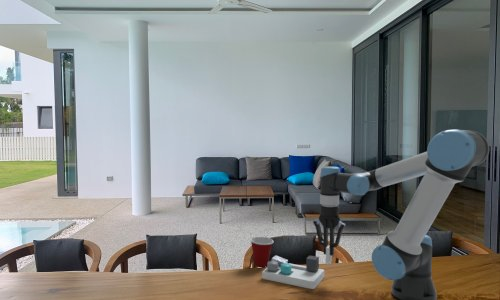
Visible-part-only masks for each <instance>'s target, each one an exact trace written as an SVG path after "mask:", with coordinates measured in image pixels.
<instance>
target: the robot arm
mask: <svg viewBox="0 0 500 300" xmlns="http://www.w3.org/2000/svg"><path fill="white" fill-rule="evenodd" d="M426 149H427V150H426V151H424V152H422V153H419V154H416V155H413V156H409V157H407V158H404V159H402V160H398V161H396V162H392V163H390V164H387V165H385V166H384V165H383V166H381V167H378V168H375V169H372V170H369V171H366V172H357V173H345V172H341V169H340V167H338V166H322V167H321V169H320V177H319V178H320V179H319V180H320V182H319V183H320V192H319V193H320V194H319V204H320V205H319V217H318V218H317V219H315V220H313V225H314V227H315V231H316V235H317V239H318V244H319V245H320V246H322V247H323V255H325V264H327V265H330V264H331V263H332V256H334V254H335V251H334V250H335V248H337V247H338V246H339V245H340V242H341V238H342V234H343V230H344V228H345V227H346V223H344V222H342V221H341V219H340V206H339V205H340V193H344V194H349V195H354V196H364V195H366V193H368V192H370V191H377V190H379V189H382V188H384V187H387V186H391V185H395V184H399V183H401V182H405V181H409V180H413V179H416V178H419V177H422V176H423V177H422V178H421V180H420V183H419V185H418V186H417V188H416V190H415V192H414V194H413V196H412V198H411V200H410V201H409V204H408V205H407V207H406V209H405V211H404V212H403V214H402V216H401V218H400V220H399V222H398V224H397V226H396V228H395V230H390V231H388V232H387V234H386V236H385V238H384V240H383V242H382V243H381V244H380V245H377V246H376V247H375V248H374V249H372V250H373V251H372V252H371V263H372V265H373V268H374V270H375V271H376V272H377V274H379V275H380V276H381V277H382V278H384V279H386V280H388V281H392V284H391V294H392V295H393V296H394V297H395V298H396V299H398V300H437V299H438V298H437V297H438V295H437V294H438V293H437V290H436V287H435V284H434V281H433V278H432V272H433V271H432V266H433V264H432V263H433V241H432V240H433V239H432V238H431V236H429V235H428V234H427V233H428V232H429V230H430V228H431V227H432V224H433V223H434V221H435V219H436V218H437V216H438V214H439V212H440V211H441V209H442V207H443V205H444V204H445V202H446V200H447V199H448V197H449V195H450V193H451V191H452V190H453V188H454V187H455V184H457V183H462V182H464V180H465V179H466V177H467V175H469V172H470V171H471V169H472V167H476V166H479V165H481V164H482V163H484V162H485V160H486V159H487V158H488V156H489V154H490V144H489V141H488V140H487V138H486V137H485V136H484V135H483V134H482V133H480V132H478V131H475V130H469V129H467V130H466V129H451V128H450V129H447V130H443V131H441V132H439V133H436V134H435V135H434V136H433V137H432V138H431V140H430V141H429V142H428V146H427V148H426ZM321 225H322V226H323V229H322V227H321ZM337 225H338V230H337V232H336V233H337V234H336V237H335V230H336V227H337ZM322 230H323V231H322ZM322 232H323V233H322Z"/></svg>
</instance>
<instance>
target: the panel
mask: <svg viewBox="0 0 500 300" xmlns="http://www.w3.org/2000/svg"><path fill="white" fill-rule="evenodd" d="M287 264H291V274H288V275H284V274H281V265H280V264H278V271H276V272H269V271H268V270H267V267H265V269H264V270H263V271H262V272H261V273H262V277H261V278H262V280H267V281H272V282H278V283H281V284H287V285H289V286H290V285H291V286H295V287H300V288H305V289H311V290H315V289H316V288H317V286H318V285H319V284H320V283H321V281H322V280H323V279H324V278H325V272H326V271H325V269H323V268H319V269H318V270H317V271H316V272H313V271H307V270H306V265H301V264H294V263H290V262H289V263H287Z"/></svg>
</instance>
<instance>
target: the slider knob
mask: <svg viewBox="0 0 500 300" xmlns="http://www.w3.org/2000/svg"><path fill="white" fill-rule="evenodd" d="M319 258H320V257H319V256H315V255H308V256H307V257H306V258H305V260H306V261H305V262H306V263H305V264H306V265H305V266H306V270H307V271H313V272H316V271H317V270H318V269H320V265H319V264H320V259H319Z"/></svg>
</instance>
